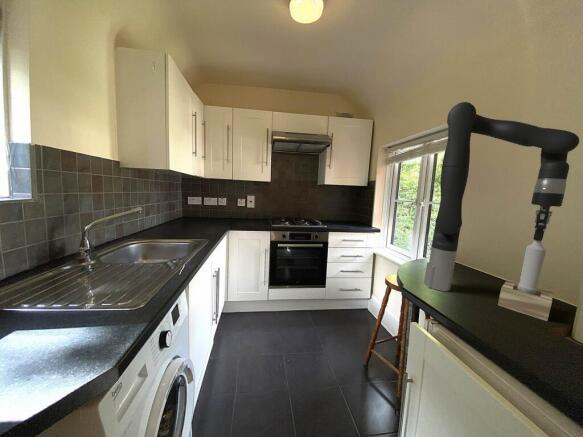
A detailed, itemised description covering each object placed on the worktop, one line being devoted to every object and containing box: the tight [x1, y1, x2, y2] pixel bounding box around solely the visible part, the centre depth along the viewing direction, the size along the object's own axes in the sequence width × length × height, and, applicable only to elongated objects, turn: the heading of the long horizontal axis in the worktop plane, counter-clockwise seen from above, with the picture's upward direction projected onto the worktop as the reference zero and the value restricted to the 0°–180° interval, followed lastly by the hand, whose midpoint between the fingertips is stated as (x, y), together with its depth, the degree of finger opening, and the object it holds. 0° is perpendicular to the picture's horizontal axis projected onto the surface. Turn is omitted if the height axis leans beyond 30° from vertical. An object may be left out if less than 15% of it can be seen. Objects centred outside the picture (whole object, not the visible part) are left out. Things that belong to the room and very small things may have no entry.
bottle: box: [518, 224, 547, 294], centre depth 88 cm, size 5×5×25 cm
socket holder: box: [497, 280, 554, 322], centre depth 90 cm, size 13×13×7 cm
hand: (537, 239), depth 87 cm, fingers closed on bottle, 2 cm apart
